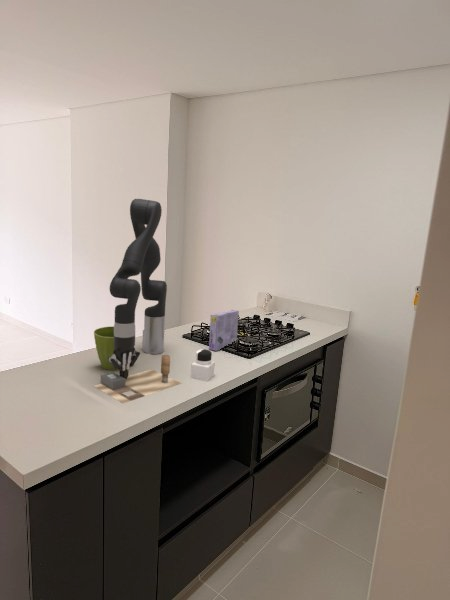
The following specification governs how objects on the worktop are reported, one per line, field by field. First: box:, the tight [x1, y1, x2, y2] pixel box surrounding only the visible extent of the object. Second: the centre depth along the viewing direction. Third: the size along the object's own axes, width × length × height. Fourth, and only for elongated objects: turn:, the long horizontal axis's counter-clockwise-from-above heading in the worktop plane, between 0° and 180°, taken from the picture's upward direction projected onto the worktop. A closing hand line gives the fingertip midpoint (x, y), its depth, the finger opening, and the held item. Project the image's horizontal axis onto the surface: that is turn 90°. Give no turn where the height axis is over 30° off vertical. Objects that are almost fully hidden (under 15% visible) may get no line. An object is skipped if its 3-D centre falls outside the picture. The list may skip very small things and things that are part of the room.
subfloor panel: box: [93, 368, 182, 404], centre depth 152 cm, size 18×26×2 cm
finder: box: [100, 371, 125, 390], centre depth 150 cm, size 8×5×3 cm, turn 46°
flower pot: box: [93, 325, 119, 371], centre depth 166 cm, size 15×15×16 cm
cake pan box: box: [208, 309, 240, 352], centre depth 205 cm, size 19×5×18 cm, turn 144°
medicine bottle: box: [190, 348, 216, 382], centre depth 163 cm, size 7×7×12 cm
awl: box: [160, 354, 171, 383], centre depth 155 cm, size 3×3×10 cm
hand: (123, 378), depth 153 cm, fingers closed
